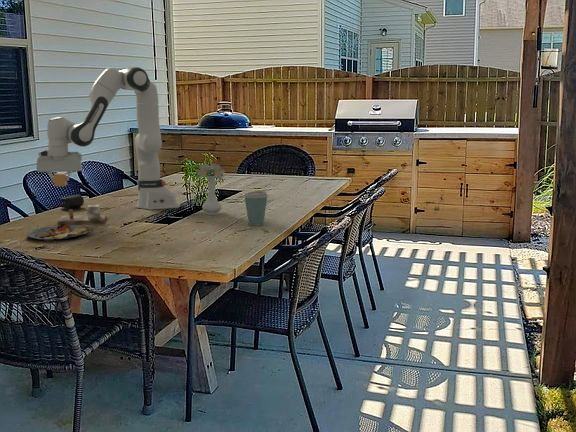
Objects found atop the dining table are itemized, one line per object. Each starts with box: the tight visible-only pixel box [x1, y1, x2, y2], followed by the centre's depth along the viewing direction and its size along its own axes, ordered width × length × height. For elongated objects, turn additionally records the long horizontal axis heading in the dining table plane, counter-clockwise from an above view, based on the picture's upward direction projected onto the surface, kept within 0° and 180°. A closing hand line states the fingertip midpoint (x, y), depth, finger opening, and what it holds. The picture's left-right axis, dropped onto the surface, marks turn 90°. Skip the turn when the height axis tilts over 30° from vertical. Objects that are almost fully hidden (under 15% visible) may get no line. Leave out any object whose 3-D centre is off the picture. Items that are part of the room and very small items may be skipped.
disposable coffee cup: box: [243, 190, 268, 227], centre depth 294 cm, size 11×11×15 cm
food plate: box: [25, 224, 91, 242], centre depth 270 cm, size 25×23×4 cm
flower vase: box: [196, 162, 226, 216], centre depth 319 cm, size 13×18×25 cm
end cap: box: [59, 194, 85, 211], centre depth 332 cm, size 10×7×7 cm
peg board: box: [57, 204, 107, 226], centre depth 301 cm, size 20×14×7 cm
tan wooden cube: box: [52, 172, 68, 187], centre depth 310 cm, size 5×5×6 cm
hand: (60, 181), depth 310 cm, fingers closed on tan wooden cube, 5 cm apart
